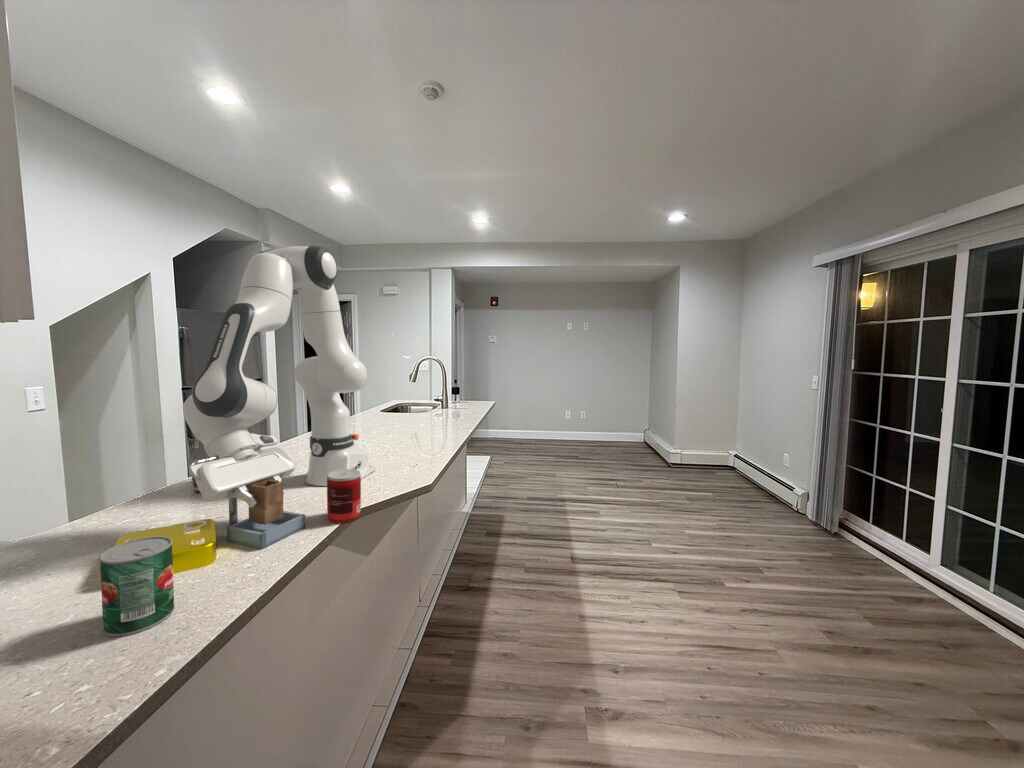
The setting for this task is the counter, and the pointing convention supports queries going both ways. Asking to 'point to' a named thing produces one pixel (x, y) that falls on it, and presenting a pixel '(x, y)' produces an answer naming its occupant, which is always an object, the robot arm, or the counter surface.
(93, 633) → the counter surface
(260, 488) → the walnut tube
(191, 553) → the element tile
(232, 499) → the metal post
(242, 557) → the counter surface
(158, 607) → the canned tomato
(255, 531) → the slate tray
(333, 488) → the canned food
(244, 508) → the counter surface
